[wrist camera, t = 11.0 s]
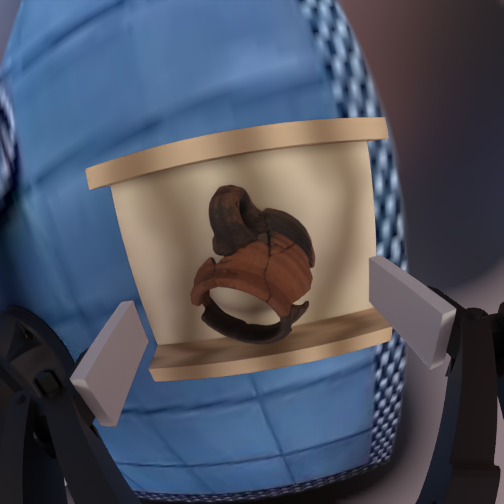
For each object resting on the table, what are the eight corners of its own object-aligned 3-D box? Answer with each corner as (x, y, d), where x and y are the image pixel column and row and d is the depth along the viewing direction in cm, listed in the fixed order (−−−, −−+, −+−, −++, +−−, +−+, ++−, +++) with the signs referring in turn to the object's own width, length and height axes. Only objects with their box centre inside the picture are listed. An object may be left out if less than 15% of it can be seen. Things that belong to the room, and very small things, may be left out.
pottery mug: (331, 272, 25) (320, 351, 19) (241, 282, 29) (213, 349, 23) (287, 148, 19) (256, 208, 13) (183, 182, 23) (127, 242, 17)
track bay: (165, 350, 27) (154, 381, 23) (112, 167, 22) (85, 169, 17) (370, 314, 27) (390, 340, 23) (358, 125, 22) (385, 117, 17)
